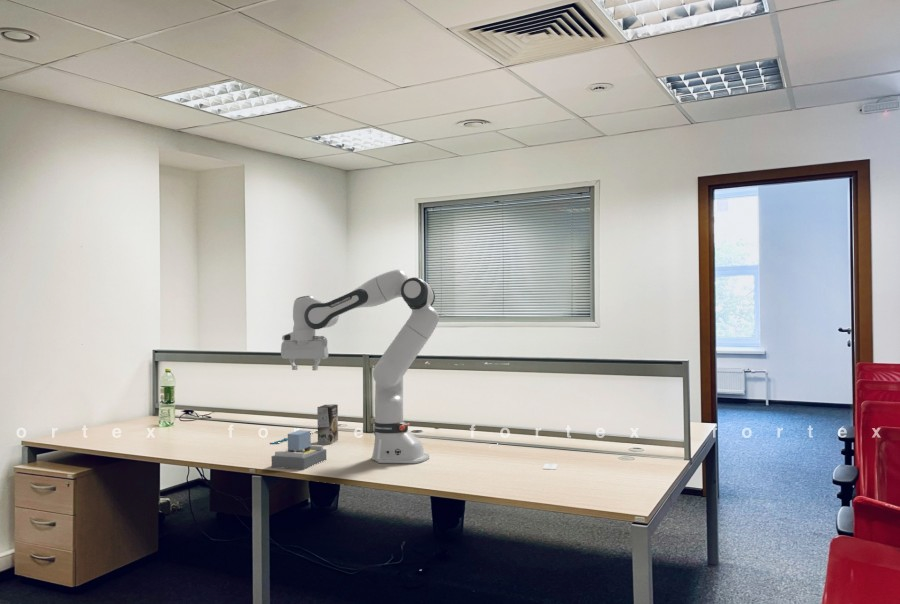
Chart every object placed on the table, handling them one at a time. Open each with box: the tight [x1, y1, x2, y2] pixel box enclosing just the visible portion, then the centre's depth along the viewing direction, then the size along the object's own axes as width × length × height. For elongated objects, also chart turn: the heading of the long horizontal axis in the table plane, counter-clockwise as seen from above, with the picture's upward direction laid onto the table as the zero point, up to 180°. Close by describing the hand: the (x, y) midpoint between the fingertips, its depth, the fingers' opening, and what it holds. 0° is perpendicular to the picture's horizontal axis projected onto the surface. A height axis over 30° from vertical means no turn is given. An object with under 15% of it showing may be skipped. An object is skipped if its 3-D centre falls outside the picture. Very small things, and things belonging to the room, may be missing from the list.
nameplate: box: [269, 437, 288, 445], centre depth 308 cm, size 37×1×5 cm
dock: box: [271, 444, 327, 470], centre depth 254 cm, size 14×16×6 cm
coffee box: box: [316, 404, 339, 445], centre depth 294 cm, size 9×6×16 cm
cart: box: [287, 430, 312, 453], centre depth 254 cm, size 5×8×8 cm, turn 160°
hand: (304, 370), depth 270 cm, fingers open, 8 cm apart
